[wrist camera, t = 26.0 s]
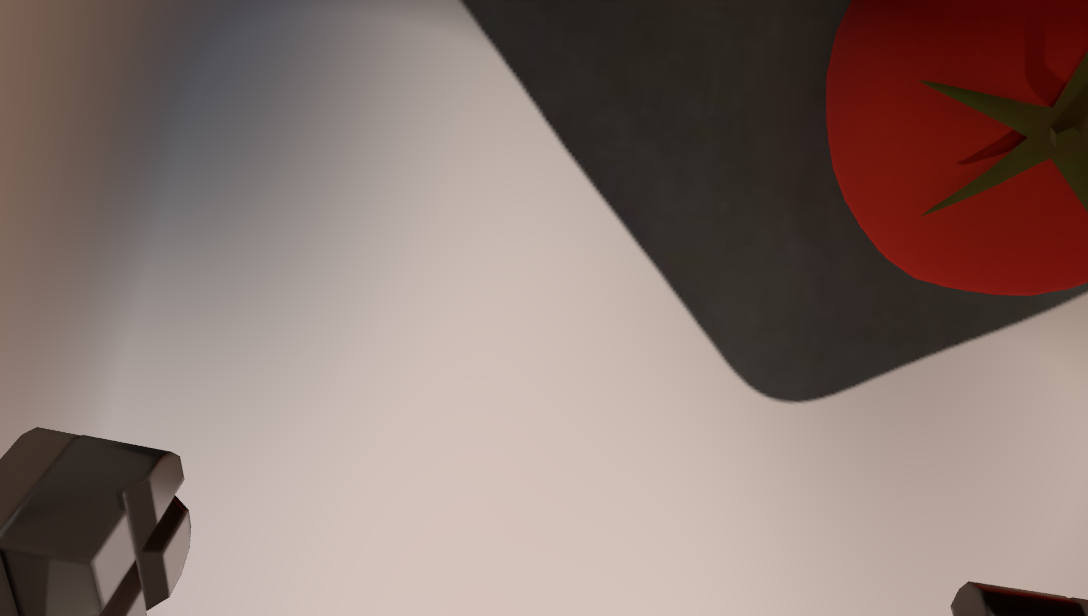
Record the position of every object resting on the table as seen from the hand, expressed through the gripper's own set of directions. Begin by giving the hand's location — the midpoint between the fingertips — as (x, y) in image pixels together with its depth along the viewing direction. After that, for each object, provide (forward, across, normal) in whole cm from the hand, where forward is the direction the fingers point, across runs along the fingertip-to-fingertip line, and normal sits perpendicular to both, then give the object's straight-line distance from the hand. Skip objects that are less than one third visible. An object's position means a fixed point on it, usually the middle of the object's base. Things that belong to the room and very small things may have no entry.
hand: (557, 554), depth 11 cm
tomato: (+30, -13, +2) cm, 33 cm away
